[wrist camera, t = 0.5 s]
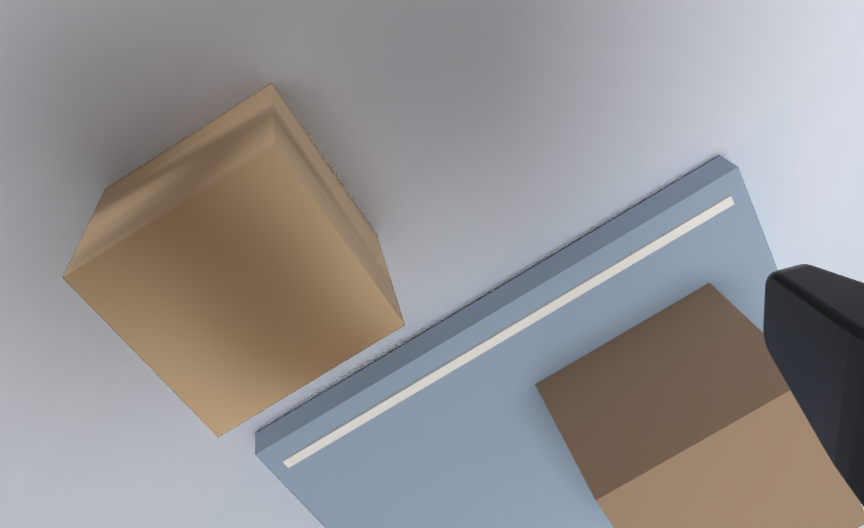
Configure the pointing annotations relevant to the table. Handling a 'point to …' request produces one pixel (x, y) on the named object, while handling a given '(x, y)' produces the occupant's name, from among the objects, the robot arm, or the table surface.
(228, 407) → the oak cube
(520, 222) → the table surface
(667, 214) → the blueprint board
